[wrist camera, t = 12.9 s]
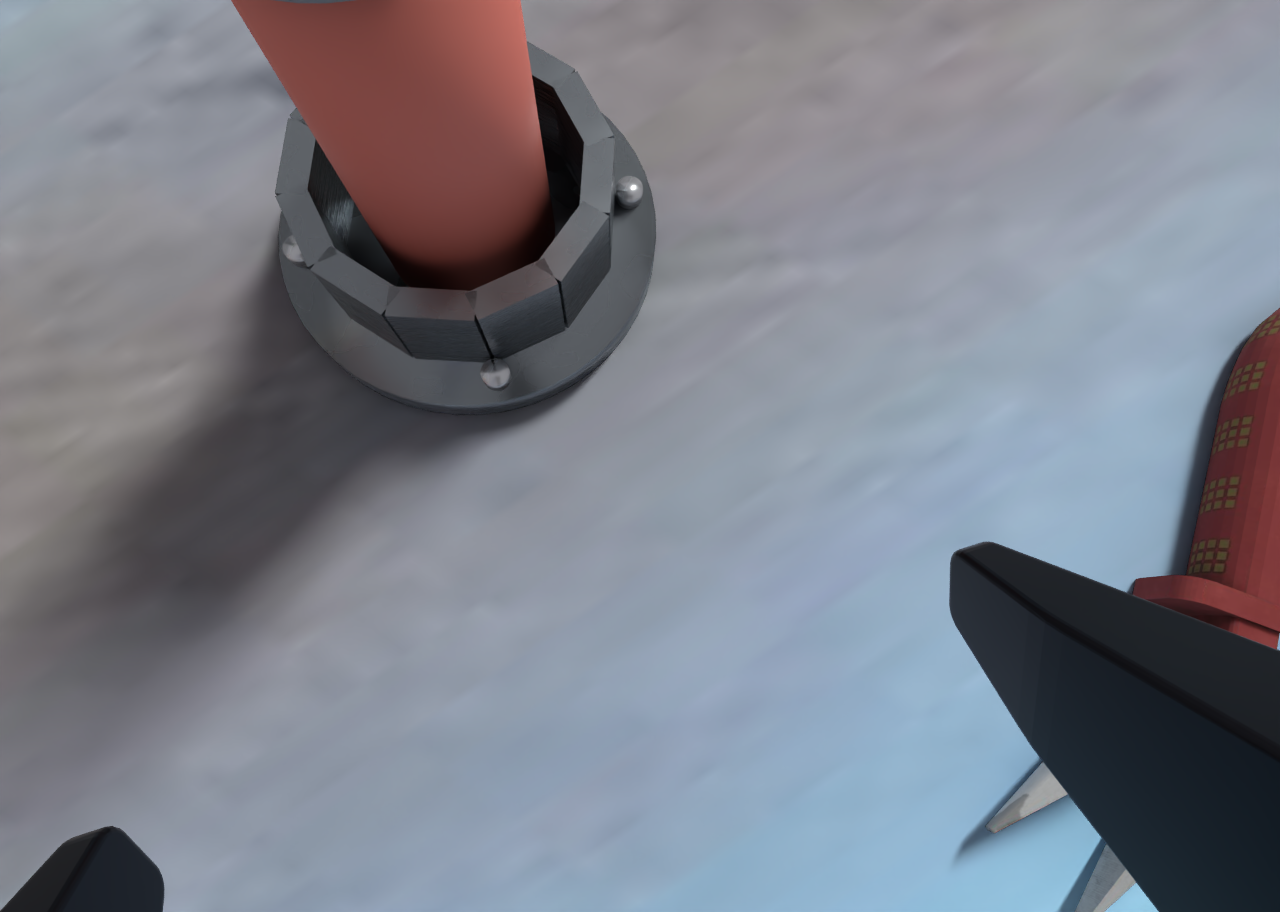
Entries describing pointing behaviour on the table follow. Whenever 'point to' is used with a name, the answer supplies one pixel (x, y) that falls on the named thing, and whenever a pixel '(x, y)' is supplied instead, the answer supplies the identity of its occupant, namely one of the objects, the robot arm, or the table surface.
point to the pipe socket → (498, 311)
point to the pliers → (1211, 558)
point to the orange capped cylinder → (422, 125)
